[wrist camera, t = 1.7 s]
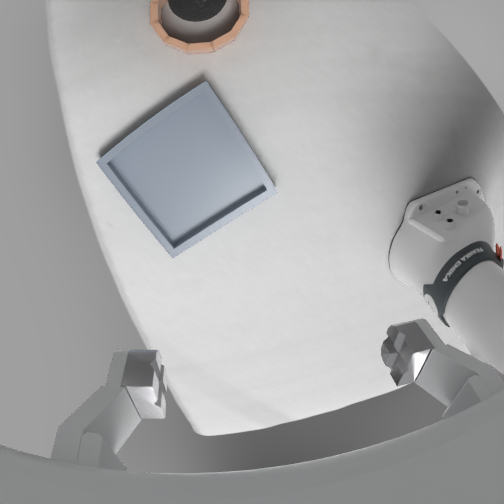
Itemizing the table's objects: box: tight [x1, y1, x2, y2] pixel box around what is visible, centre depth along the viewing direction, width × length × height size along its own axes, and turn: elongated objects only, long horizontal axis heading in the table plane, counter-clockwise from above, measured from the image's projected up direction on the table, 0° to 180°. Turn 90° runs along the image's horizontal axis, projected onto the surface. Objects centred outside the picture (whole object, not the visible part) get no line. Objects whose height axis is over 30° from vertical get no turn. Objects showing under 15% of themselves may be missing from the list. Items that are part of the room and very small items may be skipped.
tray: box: [96, 81, 278, 258], centre depth 36 cm, size 16×16×2 cm
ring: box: [150, 0, 249, 54], centre depth 26 cm, size 11×11×3 cm
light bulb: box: [168, 0, 226, 22], centre depth 23 cm, size 6×6×10 cm
